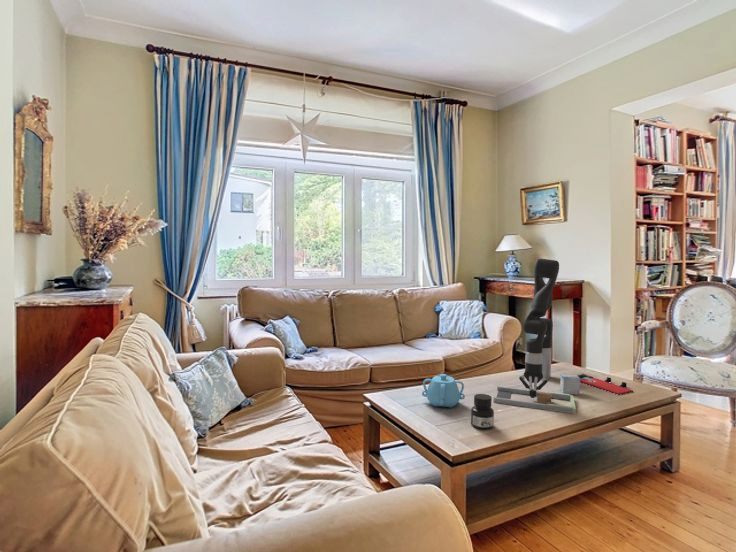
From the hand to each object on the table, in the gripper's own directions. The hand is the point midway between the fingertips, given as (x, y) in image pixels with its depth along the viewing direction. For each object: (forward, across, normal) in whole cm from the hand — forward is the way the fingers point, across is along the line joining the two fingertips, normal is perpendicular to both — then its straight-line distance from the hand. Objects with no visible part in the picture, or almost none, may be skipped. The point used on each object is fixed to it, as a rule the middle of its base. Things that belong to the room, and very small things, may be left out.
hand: (532, 397), depth 196 cm
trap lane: (+2, 0, 0) cm, 2 cm away
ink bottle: (+2, +18, +38) cm, 42 cm away
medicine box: (+2, -17, -19) cm, 26 cm away
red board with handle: (+2, -32, -41) cm, 53 cm away
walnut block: (+2, -5, 0) cm, 5 cm away
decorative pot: (+2, +38, +20) cm, 43 cm away
